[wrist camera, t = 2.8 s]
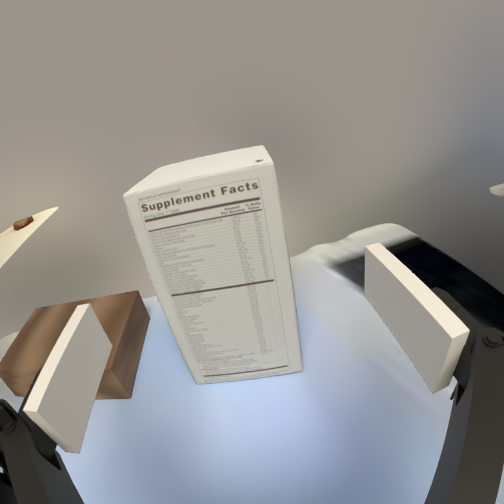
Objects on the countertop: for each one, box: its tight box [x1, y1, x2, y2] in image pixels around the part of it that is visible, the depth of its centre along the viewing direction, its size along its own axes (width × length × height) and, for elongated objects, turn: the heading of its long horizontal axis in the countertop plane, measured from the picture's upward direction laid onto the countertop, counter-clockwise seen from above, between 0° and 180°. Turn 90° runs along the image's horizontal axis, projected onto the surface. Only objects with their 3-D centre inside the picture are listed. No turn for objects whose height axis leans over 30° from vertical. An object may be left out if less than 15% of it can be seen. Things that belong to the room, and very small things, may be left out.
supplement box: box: [123, 145, 303, 384], centre depth 24 cm, size 10×9×17 cm
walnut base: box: [0, 290, 150, 399], centre depth 27 cm, size 16×12×4 cm
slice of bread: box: [13, 216, 33, 230], centre depth 113 cm, size 18×18×4 cm
